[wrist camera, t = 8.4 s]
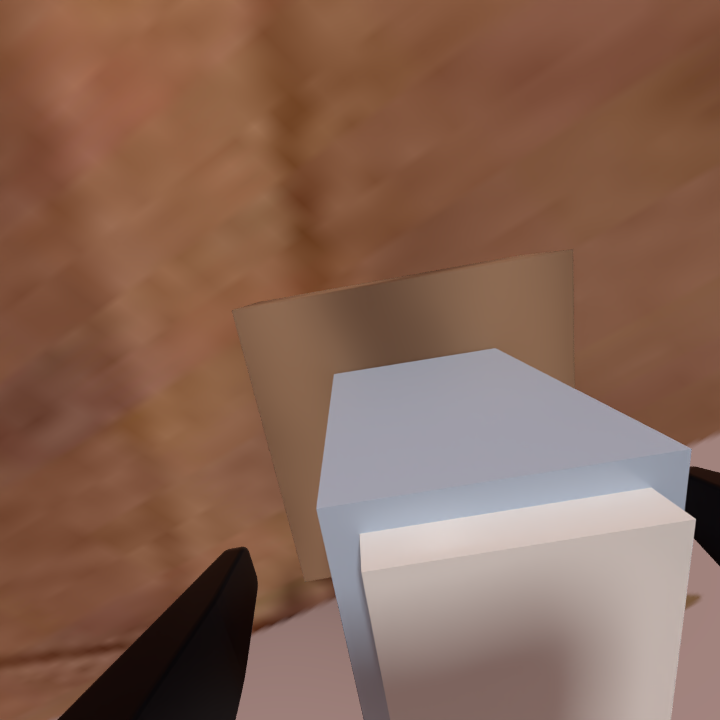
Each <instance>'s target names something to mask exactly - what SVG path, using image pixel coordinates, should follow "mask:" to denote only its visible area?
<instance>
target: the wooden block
mask: <svg viewBox="0 0 720 720" xmlns="http://www.w3.org/2000/svg"><path fill="white" fill-rule="evenodd" d="M232 313H233V317H234V321H235V324H236V328H237V332H238V335H239V339H240V343H241V347H242V350H243V354H244V358H245V361H246V365H247V369H248V373H249V376H250V380H251V384H252V387H253V391H254V395H255V399H256V402H257V406H258V410H259V413H260V417H261V421H262V425H263V428H264V432H265V436H266V439H267V443H268V447H269V451H270V454H271V458H272V462H273V465H274V469H275V473H276V477H277V480H278V484H279V488H280V491H281V495H282V499H283V503H284V506H285V510H286V514H287V517H288V521H289V525H290V529H291V532H292V536H293V540H294V543H295V547H296V551H297V554H298V558H299V562H300V566H301V569H302V573H303V577H304V580H305V582H307V581H313V580H319V579H325V578H330V577H332V576H331V572H330V568H329V563H328V559H327V554H326V550H325V545H324V541H323V536H322V532H321V528H320V523H319V519H318V514H317V510H316V507H317V499H318V492H319V484H320V476H321V469H322V461H323V454H324V446H325V438H326V431H327V423H328V415H329V408H330V400H331V392H332V385H333V377H334V374H338V373H344V372H350V371H357V370H363V369H369V368H375V367H381V366H388V365H394V364H400V363H406V362H412V361H419V360H425V359H431V358H437V357H444V356H450V355H456V354H462V353H468V352H475V351H481V350H487V349H493V348H496V349H498V350H500V351H502V352H504V353H506V354H508V355H510V356H512V357H514V358H516V359H518V360H520V361H522V362H524V363H525V364H527V365H529V366H531V367H533V368H535V369H537V370H539V371H541V372H543V373H545V374H547V375H549V376H551V377H553V378H555V379H557V380H559V381H560V382H562V383H564V384H566V385H568V386H570V387H572V388H574V389H575V379H574V284H573V249H572V250H563V251H554V252H545V253H536V254H528V255H519V256H514V257H508V258H503V259H497V260H491V261H486V262H480V263H475V264H469V265H463V266H458V267H452V268H447V269H441V270H435V271H430V272H424V273H419V274H413V275H407V276H402V277H396V278H391V279H385V280H379V281H374V282H368V283H363V284H357V285H352V286H346V287H340V288H335V289H329V290H324V291H318V292H312V293H307V294H301V295H296V296H290V297H284V298H279V299H273V300H268V301H262V302H257V303H254V304H251V305H248V306H244V307H241V308H238V309H235V310H232Z"/></svg>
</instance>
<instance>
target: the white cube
mask: <svg viewBox="0 0 720 720" xmlns="http://www.w3.org/2000/svg"><path fill="white" fill-rule="evenodd" d="M691 450H692V449H691V448H689V447H687V446H685V445H683V444H681V443H679V442H677V441H675V440H673V439H671V438H669V437H667V436H666V435H664V434H662V433H660V432H658V431H656V430H654V429H652V428H650V427H648V426H646V425H644V424H642V423H640V422H638V421H636V420H634V419H632V418H631V417H629V416H627V415H625V414H623V413H621V412H619V411H617V410H615V409H613V408H611V407H609V406H607V405H605V404H603V403H601V402H599V401H597V400H596V399H594V398H592V397H590V396H588V395H586V394H584V393H582V392H580V391H578V390H576V389H574V388H572V387H570V386H568V385H566V384H564V383H562V382H560V381H559V380H557V379H555V378H553V377H551V376H549V375H547V374H545V373H543V372H541V371H539V370H537V369H535V368H533V367H531V366H529V365H527V364H525V363H524V362H522V361H520V360H518V359H516V358H514V357H512V356H510V355H508V354H506V353H504V352H502V351H500V350H498V349H496V348H493V349H487V350H481V351H475V352H468V353H462V354H456V355H450V356H444V357H437V358H431V359H425V360H419V361H412V362H406V363H400V364H394V365H388V366H381V367H375V368H369V369H363V370H357V371H350V372H344V373H338V374H334V377H333V385H332V392H331V400H330V408H329V415H328V423H327V431H326V438H325V446H324V454H323V461H322V469H321V476H320V484H319V492H318V499H317V507H316V510H317V514H318V519H319V523H320V528H321V532H322V536H323V541H324V545H325V550H326V554H327V559H328V563H329V568H330V572H331V576H332V581H333V585H334V590H335V594H336V599H337V603H338V608H339V612H340V616H341V621H342V625H343V630H344V634H345V638H346V643H347V647H348V652H349V656H350V661H351V665H352V669H353V674H354V679H355V682H356V688H357V692H358V696H359V701H360V705H361V709H362V714H363V719H364V720H671V714H672V706H673V698H674V690H675V682H676V673H677V665H678V658H679V650H680V642H681V634H682V627H683V619H684V611H685V603H686V595H687V587H688V578H689V571H690V563H691V555H692V547H693V539H694V531H695V524H696V519H695V518H694V517H692V516H691V515H689V514H688V513H687V512H685V502H686V494H687V485H688V476H689V468H690V458H691Z"/></svg>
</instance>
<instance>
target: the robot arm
mask: <svg viewBox="0 0 720 720" xmlns="http://www.w3.org/2000/svg"><path fill="white" fill-rule="evenodd" d="M685 512H687V513H688V514H689V515H691V516H692V517H694V518H695V519H696V524H695V531H694V539H695V540H696V541H697V542H698V543H699V544H700V545H701V546H702V548H703V549H704V550H705V551H706V552H707V553H708V554H709V555H710V556H711V557H712V558H713V559H714V561H715V562H716V563H717V564H718V565H719V566H720V473H719V472H715V471H711V470H707V469H703V468H699V467H690V468H689V476H688V485H687V494H686V502H685ZM257 589H258V581H257V575H256V572H255V569H254V566H253V563H252V560H251V557H250V553H249V551H248V549H247V548H246V547H238V548H232V549H228V550H226V551H225V552H223V553H222V554H221V555H220V556H219V557H218V558H217V559H216V560H215V561H214V562H213V563H212V564H211V565H210V566H209V567H208V568H207V569H206V570H205V571H204V572H203V573H202V574H201V575H200V576H199V578H198V579H197V580H196V581H195V582H194V583H193V584H192V585H191V586H190V587H189V588H188V589H187V590H186V591H185V592H184V593H183V594H182V595H181V596H180V597H179V598H178V599H177V600H176V601H175V602H174V603H173V604H172V605H171V606H170V607H169V608H168V609H167V610H166V611H165V612H164V613H163V614H162V615H161V616H160V617H159V618H158V619H157V620H156V621H155V622H154V623H153V624H152V625H151V626H150V627H149V628H148V629H147V630H146V631H145V632H144V633H143V634H142V635H141V636H140V637H139V638H138V639H137V640H136V641H135V642H134V643H133V644H132V645H131V646H130V647H129V648H128V649H127V650H126V651H125V652H124V653H123V654H122V655H121V656H120V657H119V658H118V659H117V660H116V661H115V662H114V663H113V664H112V665H111V666H110V667H109V668H108V669H107V670H106V671H105V672H104V673H103V674H102V675H101V676H100V677H99V678H98V679H97V680H96V681H95V682H94V683H93V684H92V685H91V686H90V687H89V688H88V689H87V690H86V691H85V692H84V693H83V694H82V695H81V696H80V697H79V698H78V699H77V700H76V702H75V703H74V704H73V705H72V706H71V707H70V708H69V709H68V710H67V711H66V712H65V713H64V714H63V715H62V716H61V717H60V718H59V719H58V720H235V719H236V714H237V711H238V706H239V702H240V698H241V693H242V688H243V684H244V678H245V673H246V666H247V660H248V653H249V646H250V639H251V632H252V625H253V618H254V611H255V604H256V597H257Z"/></svg>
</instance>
